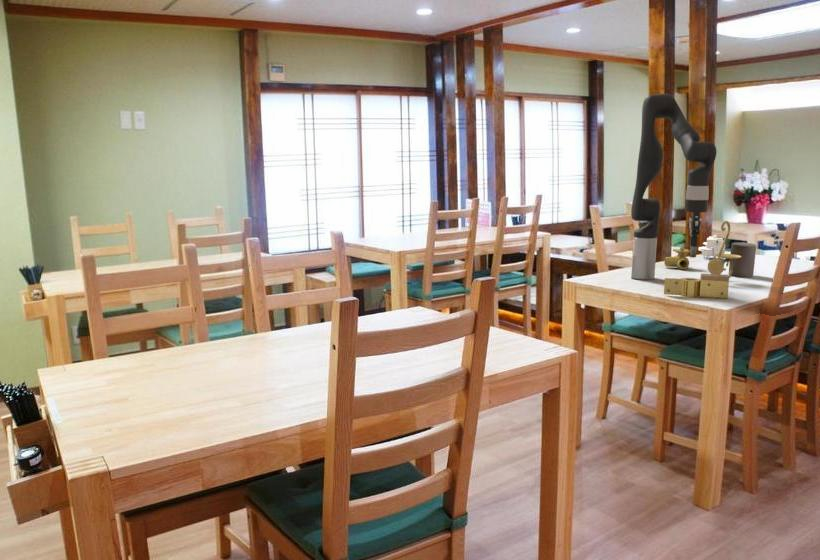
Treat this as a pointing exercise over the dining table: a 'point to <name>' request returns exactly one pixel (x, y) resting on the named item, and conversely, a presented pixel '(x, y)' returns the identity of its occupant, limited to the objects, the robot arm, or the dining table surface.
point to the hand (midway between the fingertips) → (693, 245)
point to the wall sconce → (716, 264)
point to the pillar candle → (743, 259)
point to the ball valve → (678, 259)
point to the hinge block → (699, 286)
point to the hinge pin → (693, 249)
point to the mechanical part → (712, 247)
